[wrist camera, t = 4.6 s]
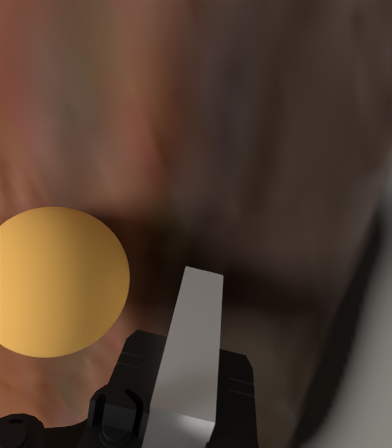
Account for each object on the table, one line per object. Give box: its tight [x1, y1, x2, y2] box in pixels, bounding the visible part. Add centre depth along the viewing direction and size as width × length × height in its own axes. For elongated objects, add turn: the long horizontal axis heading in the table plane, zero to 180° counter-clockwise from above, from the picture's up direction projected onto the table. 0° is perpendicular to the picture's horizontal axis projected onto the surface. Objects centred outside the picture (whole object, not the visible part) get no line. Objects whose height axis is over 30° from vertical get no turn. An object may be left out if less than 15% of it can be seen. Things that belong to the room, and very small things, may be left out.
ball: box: [0, 207, 130, 357], centre depth 14 cm, size 6×6×6 cm
